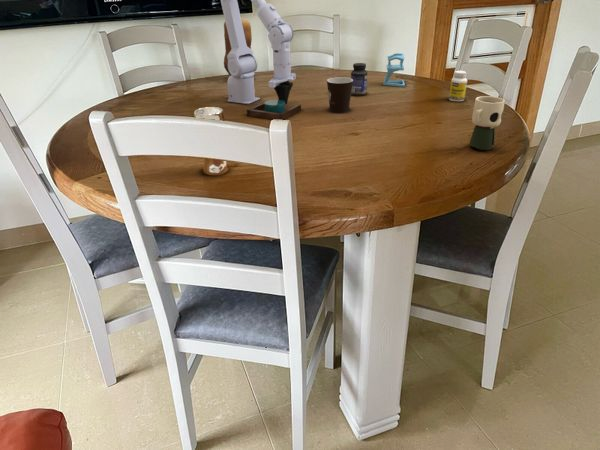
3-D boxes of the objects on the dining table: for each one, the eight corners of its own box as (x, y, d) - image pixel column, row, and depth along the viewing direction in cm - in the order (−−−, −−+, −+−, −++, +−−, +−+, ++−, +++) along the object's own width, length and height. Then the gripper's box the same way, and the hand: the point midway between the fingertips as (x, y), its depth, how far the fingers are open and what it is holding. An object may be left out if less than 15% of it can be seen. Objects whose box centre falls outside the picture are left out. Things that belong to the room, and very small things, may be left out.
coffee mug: (350, 114, 153) (351, 83, 148) (324, 113, 154) (324, 82, 149) (354, 104, 162) (355, 75, 157) (329, 103, 164) (330, 75, 159)
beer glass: (203, 166, 117) (195, 107, 109) (230, 164, 117) (224, 105, 110) (200, 177, 111) (191, 115, 103) (229, 175, 111) (222, 114, 104)
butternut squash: (263, 78, 202) (259, 16, 190) (243, 84, 192) (238, 19, 180) (238, 74, 209) (233, 14, 196) (218, 81, 199) (212, 18, 187)
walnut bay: (247, 115, 154) (246, 109, 153) (268, 105, 164) (268, 100, 163) (281, 120, 148) (281, 114, 147) (301, 110, 158) (301, 104, 157)
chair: (383, 82, 191) (385, 51, 185) (403, 82, 190) (406, 51, 184) (383, 86, 184) (385, 55, 178) (404, 87, 183) (407, 55, 177)
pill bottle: (367, 96, 172) (368, 65, 167) (350, 96, 172) (351, 65, 167) (365, 92, 178) (367, 62, 172) (349, 92, 178) (350, 62, 172)
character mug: (482, 156, 118) (491, 106, 112) (457, 149, 123) (465, 100, 117) (504, 146, 124) (514, 98, 118) (480, 139, 129) (488, 93, 123)
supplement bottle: (447, 101, 164) (451, 72, 159) (449, 97, 168) (453, 69, 163) (463, 102, 162) (468, 73, 157) (465, 98, 166) (469, 70, 162)
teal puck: (260, 114, 155) (260, 103, 153) (272, 108, 160) (271, 98, 159) (278, 116, 152) (278, 106, 150) (289, 111, 157) (289, 101, 156)
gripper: (280, 68, 146) (282, 111, 153) (303, 60, 157) (303, 100, 163) (262, 66, 149) (264, 108, 156) (285, 59, 160) (286, 98, 167)
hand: (283, 104), depth 160 cm, fingers closed
